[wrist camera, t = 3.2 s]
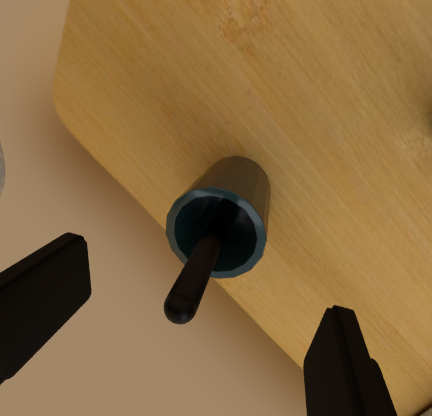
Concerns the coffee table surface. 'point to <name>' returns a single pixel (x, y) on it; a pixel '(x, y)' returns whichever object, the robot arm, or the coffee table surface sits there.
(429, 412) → the picture frame
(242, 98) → the coffee table surface
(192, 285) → the stylus
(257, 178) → the pen cup
